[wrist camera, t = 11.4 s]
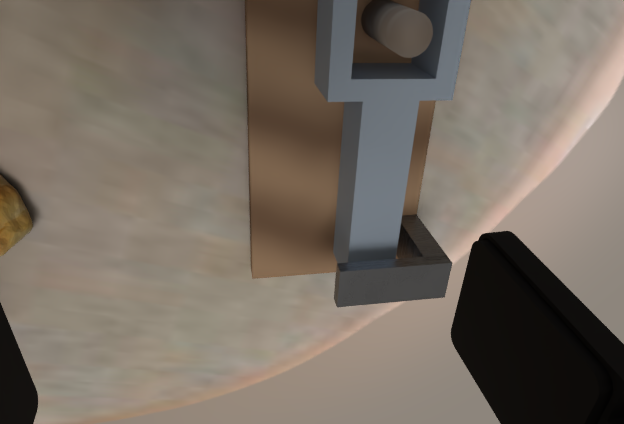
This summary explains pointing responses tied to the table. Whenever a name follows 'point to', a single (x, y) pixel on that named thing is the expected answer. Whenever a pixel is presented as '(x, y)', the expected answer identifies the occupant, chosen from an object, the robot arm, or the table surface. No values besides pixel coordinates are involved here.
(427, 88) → the link
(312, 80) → the board
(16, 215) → the pastry
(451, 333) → the robot arm
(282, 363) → the table surface
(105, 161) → the table surface
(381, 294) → the keeper
